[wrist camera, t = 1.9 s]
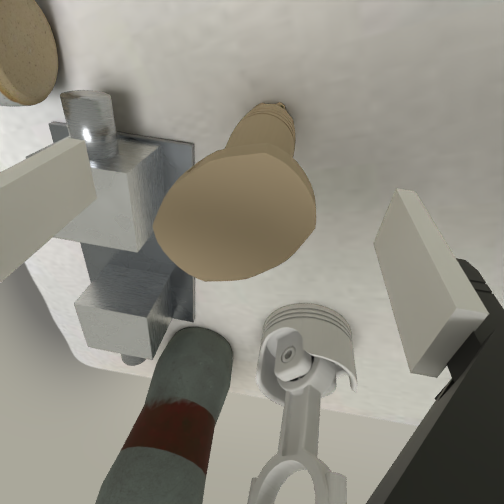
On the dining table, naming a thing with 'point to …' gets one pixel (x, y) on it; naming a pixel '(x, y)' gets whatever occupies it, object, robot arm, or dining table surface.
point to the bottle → (174, 425)
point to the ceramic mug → (25, 54)
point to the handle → (240, 203)
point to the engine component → (302, 394)
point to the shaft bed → (125, 231)
